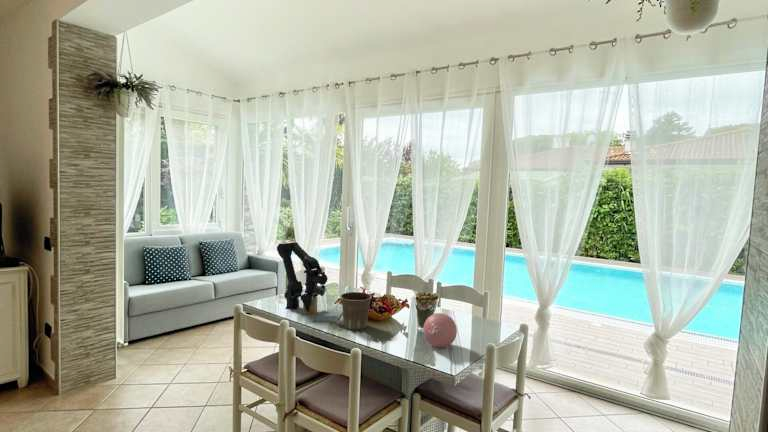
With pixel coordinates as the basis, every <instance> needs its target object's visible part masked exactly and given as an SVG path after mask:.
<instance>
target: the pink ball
mask: <svg viewBox="0 0 768 432" xmlns="http://www.w3.org/2000/svg"><path fill="white" fill-rule="evenodd" d="M422 327H423V328H422V331H423V332H422V333H423V336H424V338H425V340H426V342H427V343H428V344H429V345H431V346H432V347H436V348H438V349H439V348H447V347H449V346H450V345H452V344H453V342H454V341H455V340H456V337H457V335H458V333H457V332H458V329H457V324H456V323H455V320H454V319H453V318H452V317H451V316H450V315H448V314H446V313H442V312H438V313H434V314H431V315H429V316H428V317H427V319H426V320H425V322H424V324H423V326H422Z"/></svg>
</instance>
